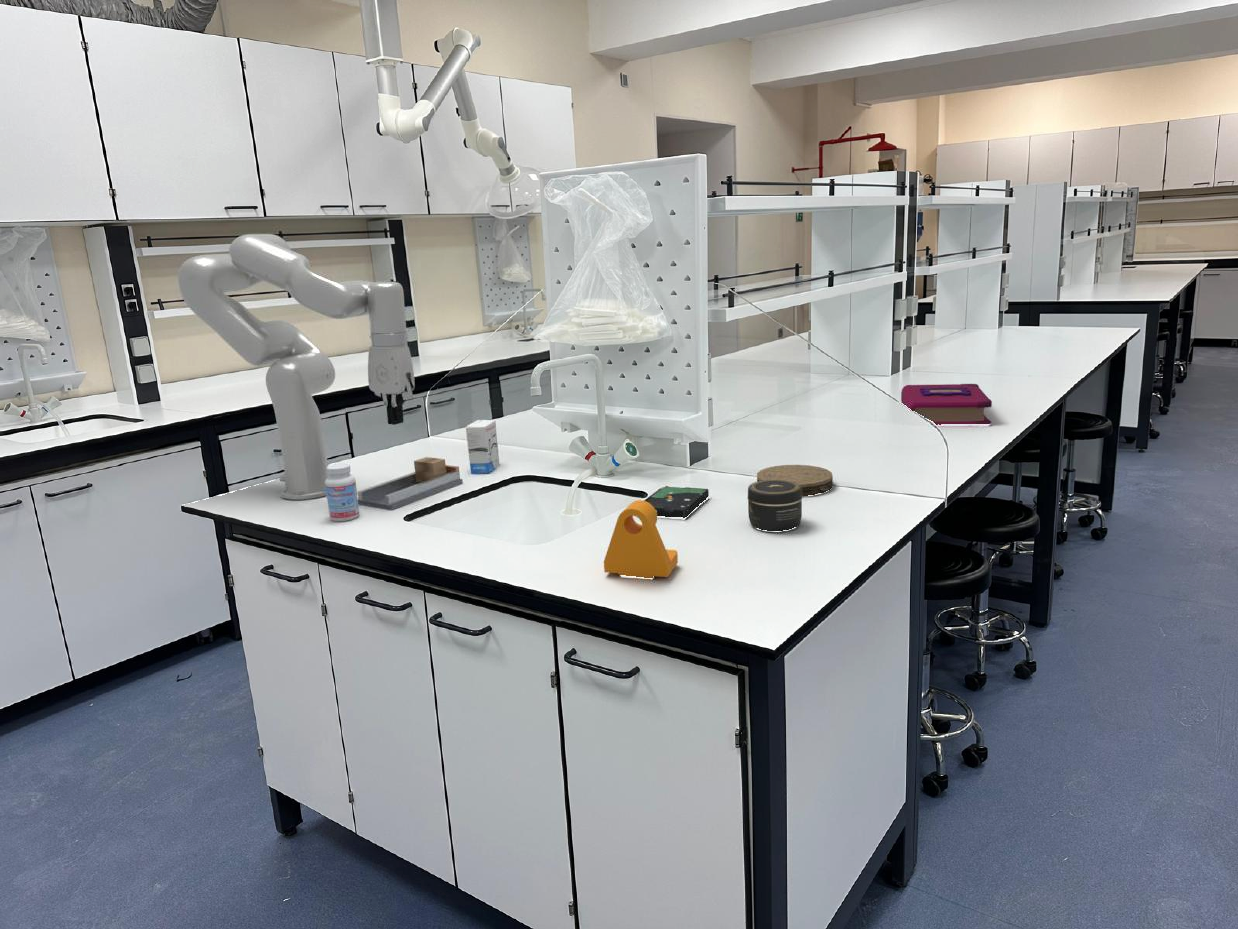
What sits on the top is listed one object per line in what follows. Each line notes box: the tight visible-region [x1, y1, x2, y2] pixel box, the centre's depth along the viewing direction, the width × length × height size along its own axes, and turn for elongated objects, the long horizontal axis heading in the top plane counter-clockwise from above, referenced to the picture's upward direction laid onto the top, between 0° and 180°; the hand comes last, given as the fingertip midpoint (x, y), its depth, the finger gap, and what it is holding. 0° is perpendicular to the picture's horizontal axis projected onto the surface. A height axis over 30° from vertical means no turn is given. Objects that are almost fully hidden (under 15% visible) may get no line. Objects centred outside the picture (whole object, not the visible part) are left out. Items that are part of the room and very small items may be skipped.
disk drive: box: [643, 485, 709, 518], centre depth 176 cm, size 10×3×15 cm
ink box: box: [465, 419, 501, 475], centre depth 213 cm, size 9×5×12 cm, turn 168°
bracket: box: [603, 499, 679, 578], centre depth 142 cm, size 11×7×12 cm, turn 71°
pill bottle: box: [325, 462, 360, 522], centre depth 180 cm, size 6×6×11 cm
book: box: [900, 383, 993, 425], centre depth 243 cm, size 21×28×8 cm
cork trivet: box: [756, 464, 834, 496], centre depth 185 cm, size 16×16×3 cm
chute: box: [357, 464, 464, 511], centre depth 196 cm, size 11×22×4 cm, turn 147°
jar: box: [747, 480, 803, 531], centre depth 161 cm, size 10×10×8 cm
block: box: [413, 456, 447, 483], centre depth 201 cm, size 6×4×5 cm, turn 58°
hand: (395, 423), depth 192 cm, fingers closed
